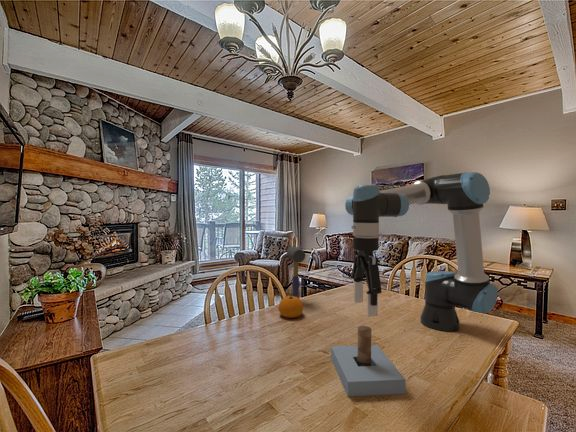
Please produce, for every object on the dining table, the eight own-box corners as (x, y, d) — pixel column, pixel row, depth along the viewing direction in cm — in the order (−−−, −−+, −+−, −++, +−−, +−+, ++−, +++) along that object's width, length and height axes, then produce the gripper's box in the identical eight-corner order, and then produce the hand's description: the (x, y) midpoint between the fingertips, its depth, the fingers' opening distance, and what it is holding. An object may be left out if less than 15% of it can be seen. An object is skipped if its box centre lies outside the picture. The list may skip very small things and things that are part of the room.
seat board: (377, 356, 99) (377, 344, 98) (405, 393, 79) (405, 379, 79) (330, 358, 97) (331, 346, 97) (347, 396, 77) (347, 381, 77)
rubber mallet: (306, 306, 149) (306, 248, 148) (292, 307, 147) (292, 249, 146) (298, 299, 161) (298, 245, 160) (285, 300, 159) (285, 246, 158)
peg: (368, 369, 90) (368, 325, 90) (373, 377, 86) (374, 331, 86) (355, 370, 90) (355, 325, 90) (359, 378, 86) (359, 331, 85)
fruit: (307, 314, 138) (307, 293, 138) (295, 322, 128) (295, 299, 128) (287, 309, 144) (287, 289, 144) (273, 316, 135) (273, 295, 134)
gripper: (342, 233, 98) (342, 296, 99) (367, 241, 75) (366, 324, 75) (364, 233, 99) (363, 296, 100) (395, 241, 75) (394, 323, 76)
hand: (364, 308), depth 87 cm, fingers open, 11 cm apart
